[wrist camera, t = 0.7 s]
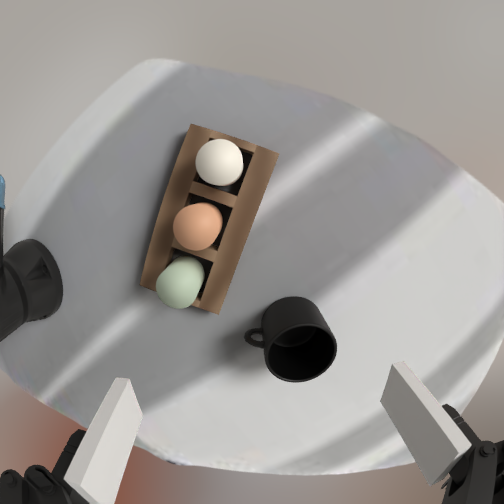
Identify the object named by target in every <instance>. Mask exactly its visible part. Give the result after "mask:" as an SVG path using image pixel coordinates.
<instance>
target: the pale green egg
mask: <svg viewBox="0 0 504 504" xmlns="http://www.w3.org/2000/svg"><path fill="white" fill-rule="evenodd" d="M204 277H205V272H204V268H203V266H202V264H201V263H200V262H199V261H198V260H197V259H195V258H193V257H191V256H180V257H178V258H176V259H175V260H174V261H173V262H172V263H171V264H170V265H169V266H168V267H167V268H166V269H165V270H164V271H163V272H162V273H161V274H160V275H159V277H158V279H157V282H156V291H157V294H158V296H159V298H160V299H161V301H162V302H163V303H164V304H166V305H167V306H169V307H172V308H176V309H182V308H186V307H188V306H190V305H191V304H192V303H193V302H194V300H195V299H196V296H197V294H198V292H199V290H200V287H201V285H202V283H203V281H204Z"/></svg>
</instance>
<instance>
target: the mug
mask: <svg viewBox="0 0 504 504" xmlns="http://www.w3.org/2000/svg"><path fill="white" fill-rule="evenodd" d="M253 334H260V335H262V338H263V341H256V340H254V339H252V338H251V335H253ZM244 338H245V341H246V342H247V343H249V344H250V345H252V346H255V347H260V348H264V355H265V363H266V365H267V368H268V369H269V371H270V372H271V373H272V374H273V375H274V376H276V377H277V378H279V379H281V380H284V381H287V382H304V381H308V380H311V379H314V378H316V377H318V376H319V375H321V374H322V373H324V372H325V371H326V370H327V369H328V368H329V367H330V366H331V364H332V363H333V361H334V359H335V356H336V352H337V343H336V339H335V337H334V335H333V333H332V332H331V330H330V328H329V326H328V325H327V323H326V321H325V320H324V318H323V316H322V314H321V313H320V311H319V309H318V308H317V306H316V305H315V304H314V303H313V302H311V301H310V300H308V299H306V298H302V297H286V298H283V299H280V300H278V301H277V302H275V303H274V304H272V305H271V306H270V307H269V308H268V309H267V311H266V312H265V314H264V316H263V318H262V323H261V328H255V329H251V330H248V331H247V332H246V333H245V336H244Z"/></svg>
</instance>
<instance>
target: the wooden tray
mask: <svg viewBox="0 0 504 504" xmlns="http://www.w3.org/2000/svg"><path fill="white" fill-rule="evenodd" d="M215 139H225V140H228V141H230V142H232V143H234V144H235V145H236V146H237V147H238V148H239V150H240V151H243V152H246V153H248V154H251V155H253V157H252V159H251V162H250V164H249V167H248V170H247V172H246V175H245V177H244V180H243V183H242V185H241V188H240V191H239V193H238V196H237V195H234V194H231V193H228V192H225V191H223V190H220V189H217V188H214V187H211V186H208V185H205V184H202V183H200V182H197V180H198V178H199V174H198V172H197V169H196V156H197V154H198V152H199V150H200V149H201V147H202V146H203V145H204V144H206V143H207V142H209V141H212V140H215ZM278 156H279V153H276V152H274V151H271V150H269V149H266V148H263V147H260V146H258V145H255V144H252V143H249V142H247V141H244V140H241V139H238V138H235V137H232V136H229V135H226V134H223V133H220V132H217V131H213V130H210V129H207V128H204V127H200V126H197V125H193V124H191V125H190V127H189V129H188V132H187V134H186V137H185V139H184V142H183V144H182V147H181V150H180V152H179V155H178V158H177V160H176V163H175V166H174V169H173V171H172V174H171V177H170V180H169V183H168V186H167V189H166V192H165V195H164V198H163V201H162V204H161V207H160V211H159V214H158V217H157V221H156V224H155V227H154V231H153V234H152V238H151V242H150V245H149V249H148V253H147V257H146V260H145V264H144V269H143V273H142V277H141V281H140V285H141V286H143V287H146V288H148V289H151V290H153V291H156V282H157V279H158V277H159V275H160V274H161V273H162V272H163V271H164V270H165V269H166V268H167V267H168V266H169V265H170V263H171V260H172V257H173V253H174V250H175V248H177V249H179V250H182V251H185V252H188V253H190V254H193V255H196V256H198V257H201V258H204V259H207V260H210V261H212V262H214V263H213V266H212V268H211V271H210V274H209V277H208V280H207V283H206V286H205V289H204V292H203V293H201V292H198V294H197V296H196V299H195V300H194V302H193V303H192V304H191V305H193V306H195V307H198V308H201V309H204V310H207V311H210V312H212V313H215V314H218V315H219V312H220V310H221V307H222V304H223V302H224V299H225V296H226V293H227V291H228V288H229V285H230V283H231V280H232V277H233V275H234V272H235V269H236V267H237V264H238V261H239V259H240V256H241V253H242V251H243V248H244V245H245V243H246V240H247V237H248V235H249V232H250V229H251V227H252V224H253V221H254V219H255V216H256V213H257V211H258V208H259V206H260V203H261V200H262V198H263V195H264V192H265V190H266V187H267V185H268V182H269V179H270V177H271V174H272V172H273V169H274V166H275V164H276V161H277V159H278ZM192 194H196V195H199V196H202V197H205V198H207V199H210V200H213V201H216V202H219V203H222V204H224V205H227V206H230V207H233V210H232V212H231V215H230V218H229V220H228V223H227V226H226V229H225V232H224V234H223V237H222V240H221V243H220V246H216V245H213V244H211V245H210V246H209V247H207V248H205V249H203V250H198V251H194V250H189V249H187V248H185V247H183V246H182V245H181V244H180V243H179V242H178V241H177V239H176V238H175V235H174V232H173V223H174V219H175V217H176V215H177V214H178V212H179V211H180V210H182V209H183V208H185V207H187V206H189V203H190V200H191V197H192ZM156 292H157V291H156Z"/></svg>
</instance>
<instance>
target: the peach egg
mask: <svg viewBox="0 0 504 504" xmlns="http://www.w3.org/2000/svg"><path fill="white" fill-rule="evenodd" d="M222 225H223V218H222V214H221V212H220V211H219V209H218V208H217V207H216V206H214V205H213V204H211V203H207V202H200V203H196V204H193V205H189V206H187V207H185V208H183V209H182V210H180V211H179V212H178V214H177V215H176V217H175V219H174V223H173V232H174V235H175V238H176V239H177V241H178V242H179V243H180V244H181V245H182V246H183V247H185V248H187V249H189V250H194V251H198V250H203V249H205V248H207V247H209V246H210V245H211V244H212V243H213V242H214V241H215V239H216V237H217V236H218V234H219V232H220V231H221V229H222Z"/></svg>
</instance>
